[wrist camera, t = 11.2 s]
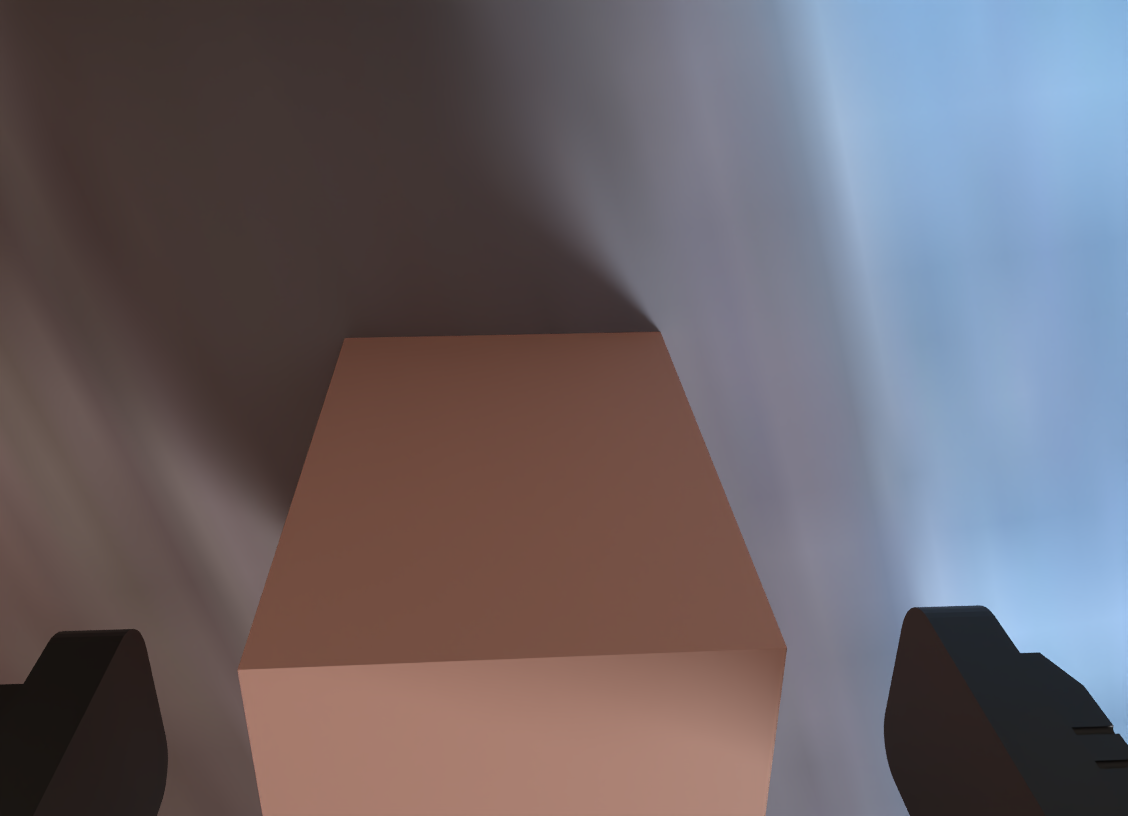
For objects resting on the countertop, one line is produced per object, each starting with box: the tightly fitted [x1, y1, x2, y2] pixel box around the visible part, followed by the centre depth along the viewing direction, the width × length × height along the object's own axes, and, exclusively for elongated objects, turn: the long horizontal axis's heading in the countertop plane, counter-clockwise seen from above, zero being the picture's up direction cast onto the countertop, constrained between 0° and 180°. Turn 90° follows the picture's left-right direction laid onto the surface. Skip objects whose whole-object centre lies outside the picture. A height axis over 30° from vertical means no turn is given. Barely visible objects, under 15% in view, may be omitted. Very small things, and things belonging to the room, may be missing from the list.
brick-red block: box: [238, 332, 787, 816], centre depth 13 cm, size 4×4×7 cm
